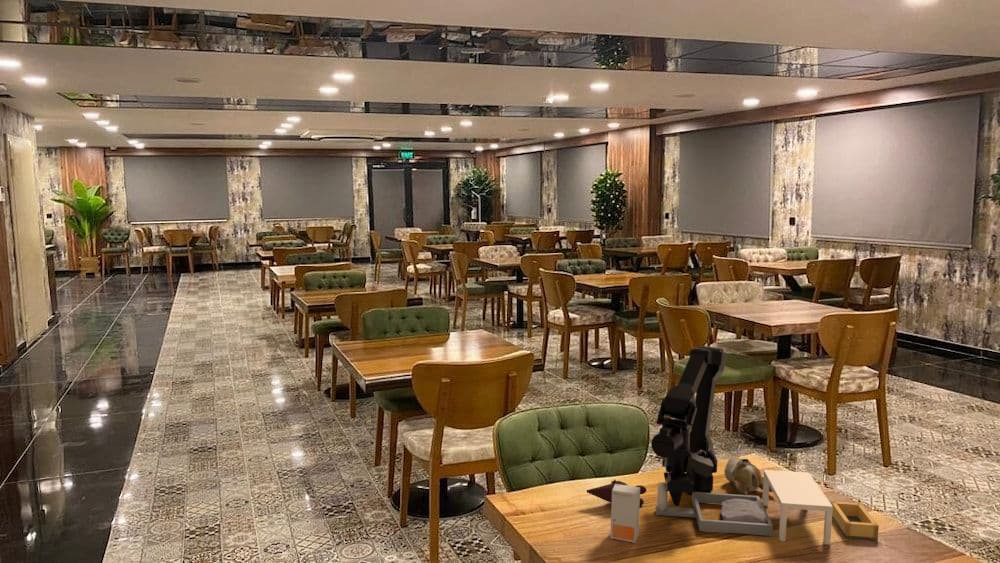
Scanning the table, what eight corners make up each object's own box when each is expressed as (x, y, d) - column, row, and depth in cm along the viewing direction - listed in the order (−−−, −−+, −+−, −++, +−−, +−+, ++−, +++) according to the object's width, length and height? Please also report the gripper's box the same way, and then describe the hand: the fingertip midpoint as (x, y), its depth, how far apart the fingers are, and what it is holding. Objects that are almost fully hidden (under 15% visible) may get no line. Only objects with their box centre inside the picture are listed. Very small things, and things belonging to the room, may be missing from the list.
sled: (657, 527, 170) (658, 497, 169) (653, 498, 186) (654, 471, 185) (772, 535, 166) (774, 505, 165) (758, 505, 182) (759, 477, 181)
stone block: (727, 537, 170) (770, 532, 168) (724, 518, 169) (767, 513, 168) (719, 517, 181) (759, 512, 180) (716, 499, 181) (756, 494, 180)
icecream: (589, 489, 177) (649, 494, 177) (587, 470, 184) (645, 476, 184) (586, 511, 180) (645, 517, 180) (583, 492, 187) (640, 497, 187)
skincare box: (609, 539, 165) (611, 490, 163) (613, 531, 169) (614, 483, 167) (636, 543, 163) (637, 493, 161) (639, 535, 167) (640, 486, 165)
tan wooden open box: (845, 538, 166) (846, 523, 165) (830, 515, 177) (831, 501, 177) (877, 540, 165) (878, 525, 164) (860, 517, 176) (860, 503, 176)
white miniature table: (779, 540, 164) (782, 503, 163) (762, 503, 184) (763, 469, 183) (830, 544, 162) (832, 506, 161) (806, 506, 182) (808, 472, 181)
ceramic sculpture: (749, 447, 200) (781, 470, 186) (747, 475, 202) (778, 500, 188) (715, 450, 198) (745, 474, 184) (713, 479, 200) (742, 505, 185)
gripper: (716, 460, 165) (715, 524, 167) (706, 433, 183) (704, 491, 185) (667, 458, 167) (666, 521, 168) (662, 431, 185) (661, 489, 187)
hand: (676, 505), depth 177 cm, fingers closed, pressing on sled
